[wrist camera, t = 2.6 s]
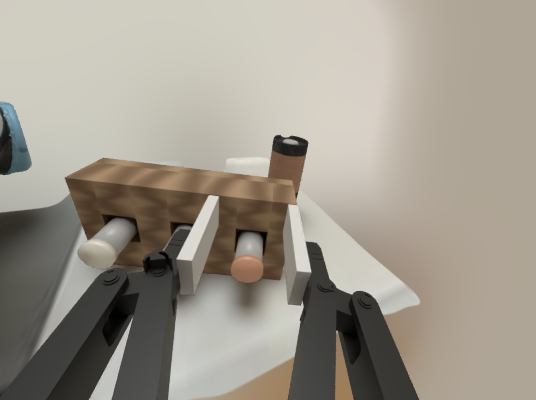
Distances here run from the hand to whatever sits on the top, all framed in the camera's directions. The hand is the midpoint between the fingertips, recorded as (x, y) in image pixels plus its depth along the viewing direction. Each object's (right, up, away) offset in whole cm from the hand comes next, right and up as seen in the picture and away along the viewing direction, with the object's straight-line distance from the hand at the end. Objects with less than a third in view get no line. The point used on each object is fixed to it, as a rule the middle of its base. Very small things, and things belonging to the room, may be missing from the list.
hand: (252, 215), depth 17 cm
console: (-12, -9, +25) cm, 29 cm away
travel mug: (+4, -3, +40) cm, 40 cm away
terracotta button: (-2, -9, +17) cm, 19 cm away
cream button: (-22, -6, +16) cm, 28 cm away
